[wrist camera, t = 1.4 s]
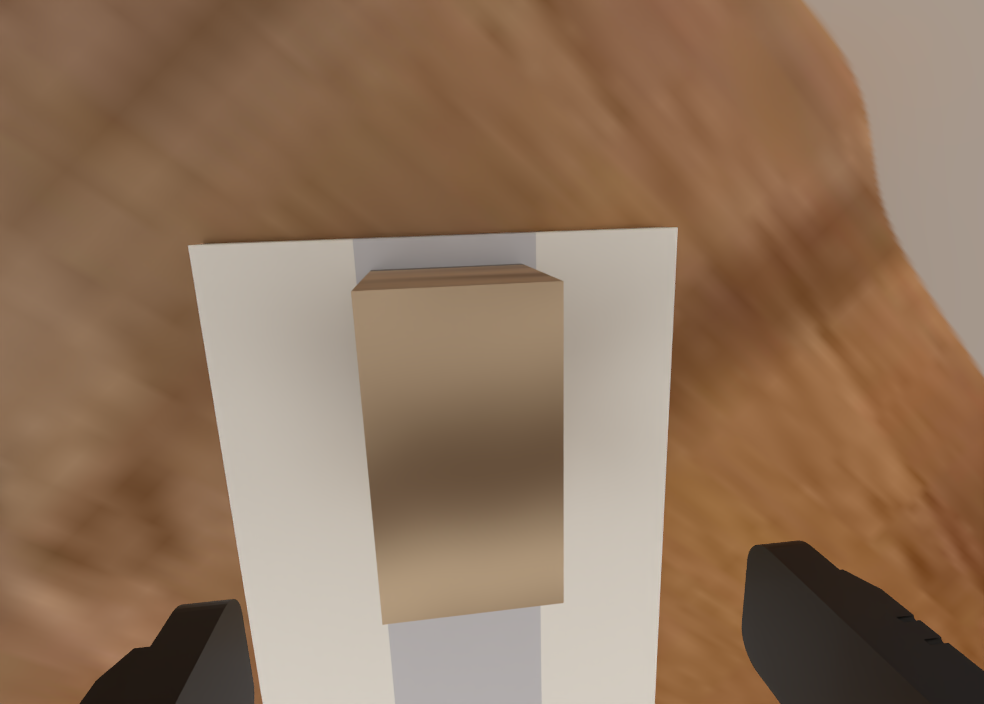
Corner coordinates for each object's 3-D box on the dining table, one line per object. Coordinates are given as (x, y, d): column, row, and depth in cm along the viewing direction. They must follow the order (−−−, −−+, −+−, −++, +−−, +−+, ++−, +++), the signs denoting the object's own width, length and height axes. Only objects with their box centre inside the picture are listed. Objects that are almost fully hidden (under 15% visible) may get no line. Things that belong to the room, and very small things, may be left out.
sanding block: (371, 270, 18) (350, 291, 12) (521, 263, 18) (563, 281, 13) (391, 517, 20) (382, 624, 15) (526, 504, 21) (563, 602, 15)
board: (202, 243, 18) (187, 245, 17) (662, 226, 20) (677, 227, 19) (295, 836, 24) (289, 867, 23) (639, 780, 26) (649, 806, 25)
